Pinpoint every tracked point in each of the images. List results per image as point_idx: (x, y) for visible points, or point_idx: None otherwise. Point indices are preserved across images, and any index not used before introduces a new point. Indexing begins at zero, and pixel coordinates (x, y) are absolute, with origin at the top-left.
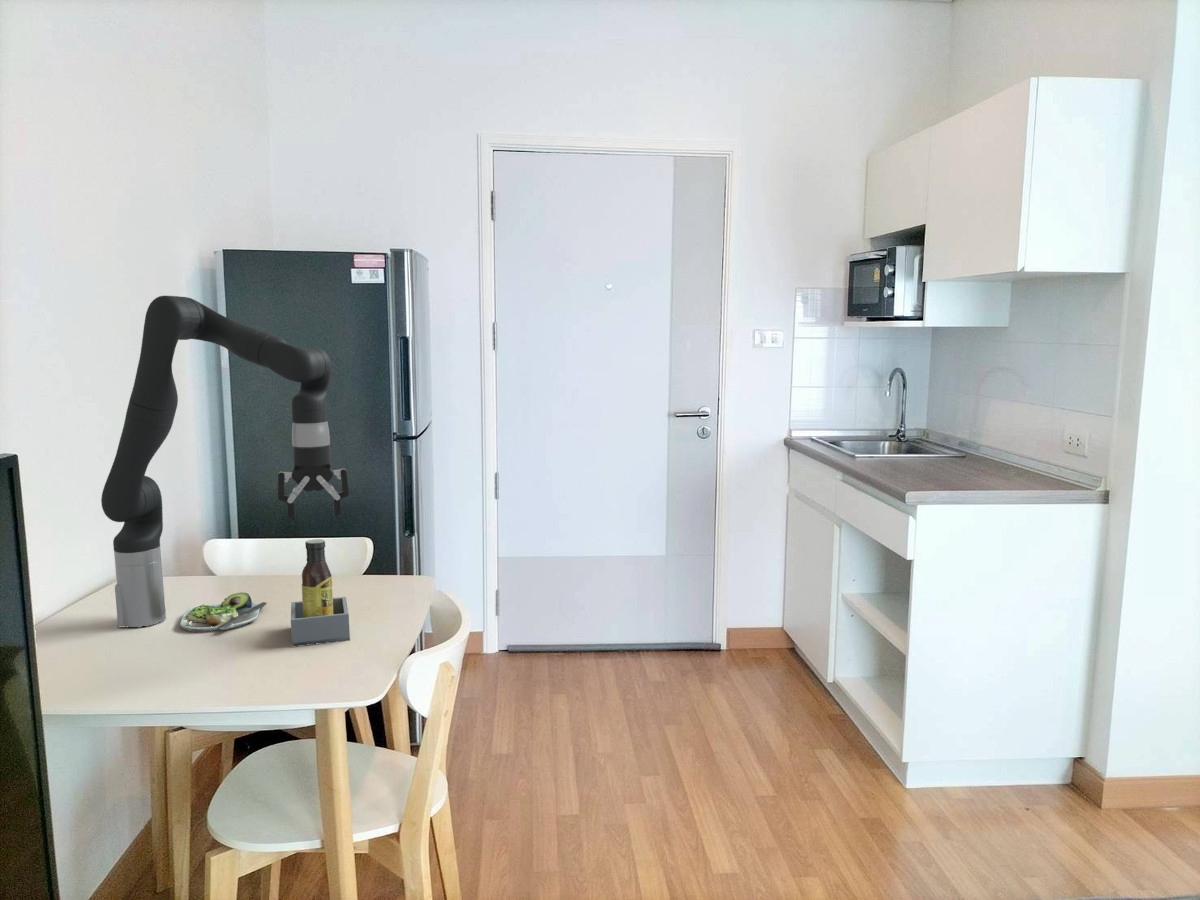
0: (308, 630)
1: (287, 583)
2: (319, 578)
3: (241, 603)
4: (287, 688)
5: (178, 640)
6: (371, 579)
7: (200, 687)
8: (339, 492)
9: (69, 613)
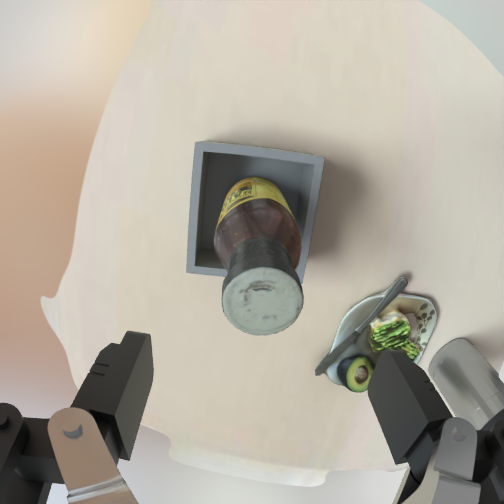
0: (284, 150)
1: (264, 440)
2: (255, 207)
3: (356, 364)
4: None
5: (445, 274)
6: (147, 417)
7: (443, 64)
8: (60, 476)
9: None
